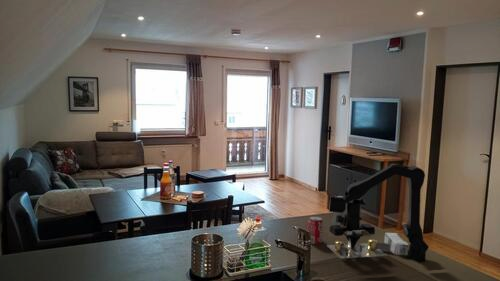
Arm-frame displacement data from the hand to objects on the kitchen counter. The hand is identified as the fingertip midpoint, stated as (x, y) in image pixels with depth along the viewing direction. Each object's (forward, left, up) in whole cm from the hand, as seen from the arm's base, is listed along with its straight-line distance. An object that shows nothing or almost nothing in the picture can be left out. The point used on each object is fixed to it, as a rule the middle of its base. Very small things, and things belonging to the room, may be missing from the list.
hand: (351, 248), depth 158 cm
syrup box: (+9, -24, 0) cm, 26 cm away
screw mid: (+2, -3, -1) cm, 4 cm away
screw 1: (-1, +5, -1) cm, 5 cm away
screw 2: (+1, -14, -1) cm, 14 cm away
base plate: (+2, -3, -2) cm, 4 cm away
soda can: (+14, +11, -3) cm, 18 cm away
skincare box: (+35, -13, -3) cm, 37 cm away
